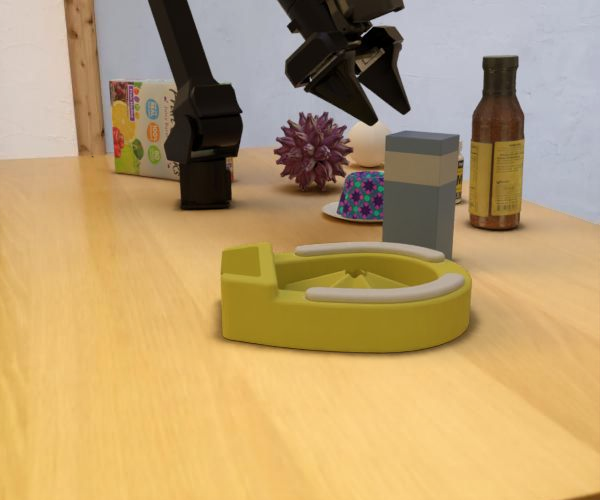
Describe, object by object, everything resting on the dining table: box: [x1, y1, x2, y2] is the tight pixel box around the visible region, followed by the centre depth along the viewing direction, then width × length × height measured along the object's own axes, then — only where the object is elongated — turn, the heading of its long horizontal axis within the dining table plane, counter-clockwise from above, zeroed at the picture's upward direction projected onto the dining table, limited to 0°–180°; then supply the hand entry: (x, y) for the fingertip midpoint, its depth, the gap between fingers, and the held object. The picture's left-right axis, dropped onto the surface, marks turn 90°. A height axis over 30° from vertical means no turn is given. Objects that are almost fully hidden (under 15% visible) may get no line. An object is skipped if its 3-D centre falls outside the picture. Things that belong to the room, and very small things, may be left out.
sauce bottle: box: [468, 54, 526, 230], centre depth 94 cm, size 7×6×20 cm
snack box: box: [108, 78, 235, 182], centre depth 125 cm, size 21×6×15 cm, turn 58°
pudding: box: [321, 170, 384, 223], centre depth 101 cm, size 12×12×5 cm
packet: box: [381, 129, 461, 262], centre depth 80 cm, size 6×4×13 cm
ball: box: [346, 120, 393, 168], centre depth 134 cm, size 8×8×8 cm
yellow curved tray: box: [220, 241, 473, 354], centre depth 67 cm, size 16×21×5 cm
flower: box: [273, 110, 354, 192], centre depth 116 cm, size 12×12×12 cm
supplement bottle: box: [455, 138, 465, 204], centre depth 109 cm, size 5×5×8 cm
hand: (391, 117), depth 86 cm, fingers open, 9 cm apart
